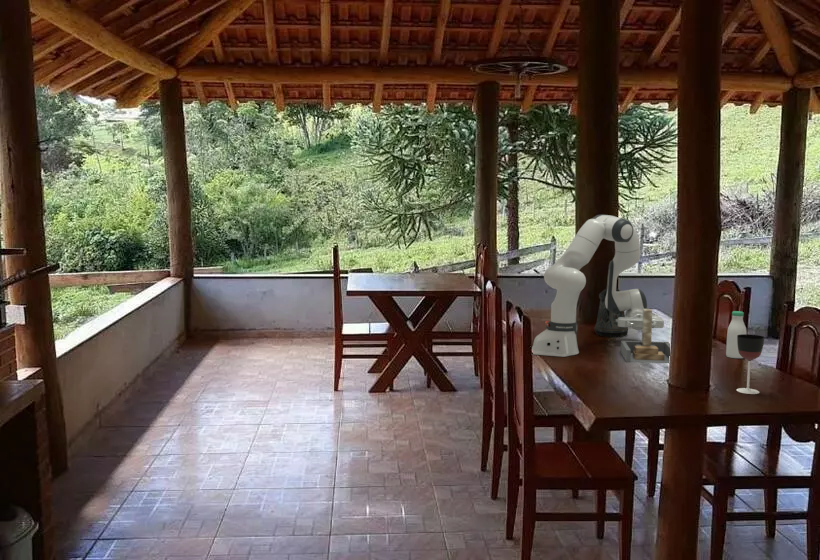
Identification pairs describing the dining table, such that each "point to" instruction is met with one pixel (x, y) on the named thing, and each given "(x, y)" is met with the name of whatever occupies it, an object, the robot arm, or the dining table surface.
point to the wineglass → (749, 354)
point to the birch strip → (647, 327)
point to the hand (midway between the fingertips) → (642, 325)
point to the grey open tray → (628, 346)
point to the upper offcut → (645, 349)
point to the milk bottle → (735, 334)
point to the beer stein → (608, 320)
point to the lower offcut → (649, 356)
